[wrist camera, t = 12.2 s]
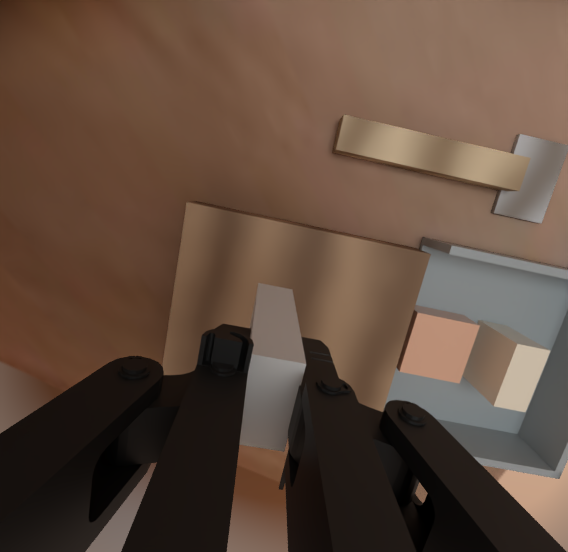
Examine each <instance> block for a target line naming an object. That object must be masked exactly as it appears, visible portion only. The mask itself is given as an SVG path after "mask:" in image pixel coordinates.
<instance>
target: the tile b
mask: <svg viewBox="0 0 568 552" xmlns="http://www.w3.org/2000/svg"><path fill="white" fill-rule="evenodd" d="M477 324H478V325H480V327H479V330H478V333H477V336H476V338H475V341H474V344H473V347H472V350H471V353H470V355H469V358H468V361H467V364H466V367H465V369H464V372H463V375H462V376H463V377H464V378H465V379H466V380H467V381H468V382H469V383H470V384H471V385H472V386H473V387H475V388H476V389H477V390H478V391H479V392H480V393H481V394H482V395H483V396H484V397H485V398H486V399H487V400H488V401H489V402H490V403H491V404H492V405H493V406H495V407H500V408H505V409H510V410H516V411H521V412H526V410H527V408H528V405H529V403H530V400H531V398H532V395H533V393H534V390H535V388H536V385H537V383H538V381H539V378H540V376H541V373H542V371H543V368H544V366H545V363H546V361H547V358H548V356H549V354H550V350H549V349H547V348H545V347H543V346H542V345H540V344H538V343H536V342H535V341H533V340H531V339H529V338H528V337H526V336H524V335H522V334H521V333H519V332H517V331H515V330H514V329H512V328H510V327H508V326H506V325H502V324H497V323H492V322H487V321H482V320H479V321H478V323H477Z"/></svg>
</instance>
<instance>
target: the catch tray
mask: <svg viewBox="0 0 568 552" xmlns="http://www.w3.org/2000/svg"><path fill="white" fill-rule="evenodd" d="M419 250H422V251H424V252H427V253H429V254H431V256H430V259H429V262H428V265H427V269H426V272H425V275H424V279H423V282H422V285H421V288H420V292H419V295H418V298H417V301H416V305H418V306H423V307H428V308H433V309H437V310H442V311H447V312H452V313H457V314H461V315H465V316H466V317H468V318H469V319H471V320H472V321H474V322H475V323H478V321H479V320H482V321H487V322H492V323H497V324H502V325H506V326H508V327H510V328H512V329H514V330H515V331H517V332H519V333H521V334H522V335H524V336H526V337H528V338H529V339H531V340H533V341H535V342H536V343H538V344H540V345H542V346H543V347H545V348H547V349H549V350H550V354H549V356H548V358H547V361H546V363H545V366H544V368H543V371H542V373H541V376H540V378H539V381H538V383H537V385H536V388H535V390H534V393H533V395H532V398H531V400H530V403H529V405H528V408H527V410H526V412H521V411H516V410H510V409H505V408H500V407H495V406H493V405H492V404H491V403H490V402H489V401H488V400H487V399H486V398H485V397H484V396H483V395H482V394H481V393H480V392H479V391H478V390H477V389H476V388H475V387H473V386H472V385H471V384H470V383H469V382H468V381H467V380H466V379H465V378H464V377H463V376H462V378H461V381H460V383H454V382H449V381H444V380H439V379H434V378H429V377H424V376H419V375H414V374H409V373H403V372H399V370H398V369H397V367H396V370H395V374H394V377H393V380H392V383H391V387H390V390H389V393H388V397H387V400H386V403H388V402H389V401H391V400H402V401H409V402H411V403H415V404H417V405H418V406H419V407H421V408H423V409H425V410H426V411H427V412H429V413H430V414H431V415H432V416H433V417H434V418H435V419H436V420H437V421H438V422H439V423H440V424H441V425H442V426H443V427H444V428H445V429H446V430H447V431H448V432H449V433H450V434H451V435H452V436H453V437H454V438H455V439H456V440H457V441H458V442H459V443H460V444H461V445H462V446H463V447H464V448H465V449H466V450H467V451H468V452H469V453H470V454H471V455H472V456H473V457H474V458H475V459H476V460H477V461H478V462H479V463H480V464H481V465H484V466H490V467H495V468H501V469H506V470H513V471H517V472H523V473H529V474H535V475H540V476H545V477H551V478H556V479H559V478H560V476H561V474H562V472H563V469H564V467H565V465H566V463H567V460H568V268H564V267H559V266H555V265H550V264H546V263H541V262H536V261H532V260H527V259H522V258H518V257H513V256H509V255H504V254H499V253H495V252H490V251H485V250H481V249H476V248H471V247H467V246H462V245H458V244H453V243H448V242H444V241H439V240H434V239H430V238H425V237H423V238H422V241H421V245H420V248H419ZM386 403H385V404H386ZM384 408H385V406H384ZM383 411H384V410H383Z"/></svg>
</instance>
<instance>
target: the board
mask: <svg viewBox="0 0 568 552" xmlns="http://www.w3.org/2000/svg"><path fill="white" fill-rule="evenodd" d="M430 256H431V254H429V253H427V252H424V251H422V250H419V249H416V248H412V247H408V246H403V245H398V244H394V243H389V242H384V241H380V240H375V239H370V238H366V237H361V236H356V235H351V234H347V233H342V232H337V231H333V230H328V229H323V228H319V227H314V226H309V225H305V224H300V223H295V222H291V221H286V220H281V219H277V218H272V217H267V216H263V215H258V214H253V213H249V212H244V211H239V210H235V209H230V208H225V207H221V206H216V205H211V204H207V203H202V202H197V201H194V202H187V204H186V211H185V217H184V224H183V230H182V237H181V244H180V250H179V257H178V264H177V270H176V277H175V284H174V290H173V297H172V304H171V310H170V317H169V324H168V330H167V337H166V344H165V350H164V357H163V364H162V367H163V371H164V375H180V374H185V373H189V372H192V371H194V370H195V368H196V365H197V361H198V355H199V349H200V343H201V337H202V334H203V333H205V332H206V331H208V330H211V329H215V328H216V327H218V326H220V325H221V324H229V325H234V326H240V327H245V328H249V327H250V322H251V317H252V312H253V307H254V302H255V298H256V293H257V288H258V283H262V284H267V285H272V286H277V287H282V288H287V289H292V291H293V296H294V301H295V306H296V312H297V317H298V322H299V328H300V333H301V337H305V338H311V339H316V340H321V341H322V342H323V343H324V344H325V345H326V346H327V347H328V348H329V351H330V354H331V357H332V360H333V363H334V365H335V368H336V371H337V374H338V377H339V379H341V380H343V381H345V382H346V383H347V384H349V385H350V386H351V387H352V389H353V390H354V392H355V395H356V397H357V400H358V402H359V403H360V404H363V405H365V406H367V407H370V408H373V409H376V410H378V411H381V412H383V410H384V406H385V403H386V400H387V397H388V393H389V390H390V387H391V383H392V380H393V377H394V374H395V370H396V367H397V364H398V360H399V357H400V354H401V351H402V347H403V344H404V341H405V338H406V334H407V331H408V328H409V324H410V321H411V318H412V315H413V311H414V308H415V305H416V301H417V298H418V295H419V292H420V288H421V285H422V282H423V279H424V275H425V272H426V269H427V265H428V262H429V259H430Z"/></svg>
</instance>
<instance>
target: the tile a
mask: <svg viewBox="0 0 568 552" xmlns="http://www.w3.org/2000/svg"><path fill="white" fill-rule="evenodd" d="M479 327H480V325H478V324H477V323H475V322H474V321H472V320H471V319H469V318H468V317H466V316H465V315H461V314H457V313H452V312H447V311H442V310H437V309H433V308H428V307H423V306H418V305H415V308H414V311H413V315H412V318H411V321H410V324H409V328H408V331H407V334H406V338H405V341H404V344H403V347H402V351H401V354H400V357H399V360H398V364H397V369H398V370H399V372H403V373H409V374H414V375H419V376H424V377H429V378H434V379H439V380H444V381H449V382H454V383H460V381H461V378H462V375H463V372H464V369H465V367H466V364H467V361H468V358H469V355H470V353H471V350H472V347H473V344H474V341H475V338H476V336H477V333H478V330H479Z"/></svg>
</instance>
